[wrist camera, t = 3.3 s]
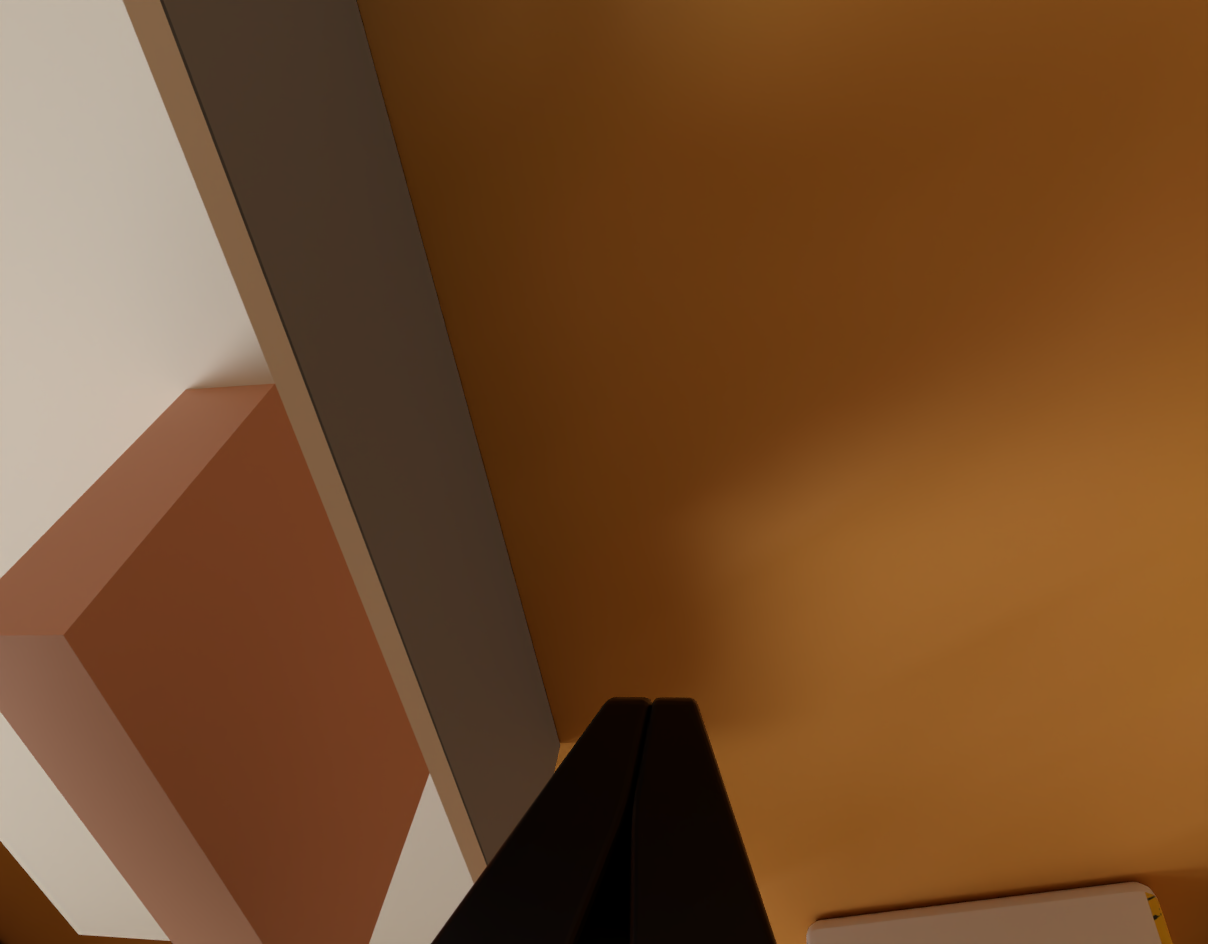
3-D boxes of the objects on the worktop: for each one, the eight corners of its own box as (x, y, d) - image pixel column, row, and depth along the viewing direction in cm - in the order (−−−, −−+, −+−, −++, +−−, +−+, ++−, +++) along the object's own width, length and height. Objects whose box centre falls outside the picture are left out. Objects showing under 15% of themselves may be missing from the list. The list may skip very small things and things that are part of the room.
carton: (560, 745, 19) (515, 938, 16) (205, 738, 21) (100, 911, 18) (294, -229, 10) (75, -235, 7) (-285, -105, 12) (-671, -64, 9)
